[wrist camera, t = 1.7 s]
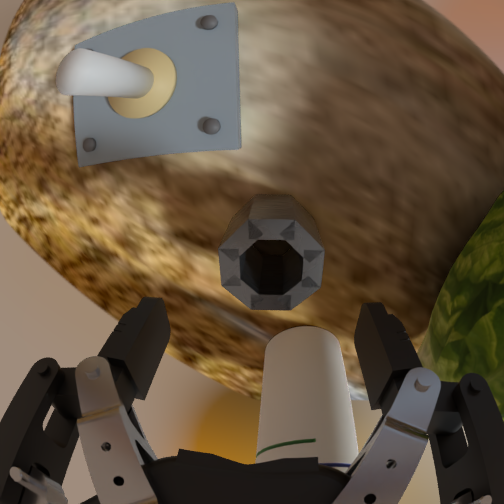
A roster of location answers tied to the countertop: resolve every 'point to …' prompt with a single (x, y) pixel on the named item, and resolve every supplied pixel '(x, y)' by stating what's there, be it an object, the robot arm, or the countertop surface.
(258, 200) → the collar
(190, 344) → the countertop surface
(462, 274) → the lettuce
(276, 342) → the cylindrical container
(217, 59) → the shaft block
